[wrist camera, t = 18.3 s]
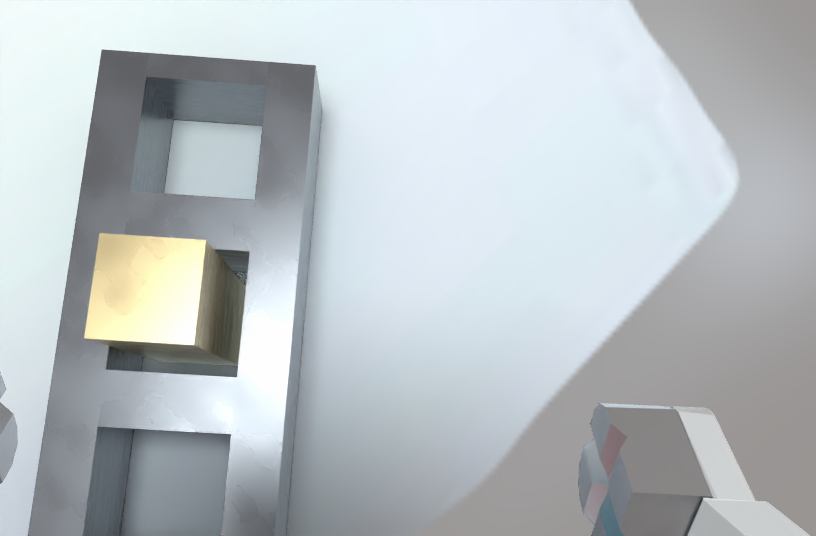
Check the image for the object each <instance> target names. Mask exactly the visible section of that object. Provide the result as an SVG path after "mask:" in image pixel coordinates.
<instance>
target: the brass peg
mask: <svg viewBox="0 0 816 536" xmlns="http://www.w3.org/2000/svg"><path fill="white" fill-rule="evenodd" d="M245 293H246V285H245V284H244V283H243V281H242V280H241V279H240V278H239V277H238V276H237V275H236V273H235V272H234V271H233V270H232V269H231V268H230V267H229V266H228V264H227V263H226V262H225V261H224V260H223V259H222V258H221V256H220V255H219V254H218V253H217V252H216V251H215V250H214V249H213V247H212V246H211V245H210V244H209V243H208V242H207V241H206V240H197V239H182V238H167V237H152V236H137V235H122V234H107V233H99V240H98V247H97V254H96V261H95V267H94V274H93V281H92V288H91V295H90V301H89V308H88V315H87V322H86V329H85V336H84V338H85V339H88V340H91V341H94V342H98V343H101V344H104V345H108V346H111V347H114V348H117V349H121V350H124V351H127V352H131V353H134V354H137V355H140V356H144V357H147V358H150V359H153V360H157V361H165V362H182V363H198V364H215V365H231V366H238V362H239V352H240V342H241V332H242V322H243V313H244V303H245Z"/></svg>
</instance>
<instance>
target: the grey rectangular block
mask: <svg viewBox="0 0 816 536" xmlns="http://www.w3.org/2000/svg"><path fill="white" fill-rule="evenodd" d="M321 116H322V105H321V98H320V91H319V85H318V78H317V71H316V66H315V65H302V64H289V63H275V62H262V61H248V60H235V59H222V58H208V57H195V56H181V55H168V54H155V53H141V52H128V51H114V50H102V52H101V59H100V65H99V72H98V78H97V85H96V92H95V98H94V105H93V111H92V118H91V124H90V131H89V138H88V144H87V151H86V157H85V164H84V170H83V177H82V183H81V190H80V197H79V203H78V210H77V216H76V223H75V229H74V236H73V242H72V249H71V256H70V262H69V269H68V275H67V282H66V288H65V295H64V301H63V308H62V315H61V321H60V328H59V334H58V341H57V347H56V354H55V361H54V367H53V374H52V380H51V387H50V393H49V400H48V406H47V413H46V420H45V426H44V433H43V439H42V446H41V452H40V459H39V465H38V472H37V479H36V485H35V492H34V498H33V505H32V511H31V518H30V525H29V531H28V536H120V531H121V524H122V516H123V508H124V500H125V492H126V485H127V477H128V469H129V461H130V454H131V446H132V438H133V430H134V429H148V430H165V431H183V432H201V433H219V434H231V440H230V450H229V460H228V470H227V480H226V489H225V499H224V509H223V519H222V529H221V536H286V529H287V518H288V506H289V494H290V482H291V470H292V459H293V447H294V435H295V423H296V411H297V400H298V388H299V376H300V364H301V352H302V341H303V329H304V317H305V305H306V293H307V282H308V270H309V258H310V246H311V234H312V223H313V211H314V199H315V187H316V175H317V164H318V152H319V140H320V128H321ZM173 119H176V120H190V121H204V122H218V123H232V124H246V125H260V126H262V136H261V146H260V156H259V165H258V175H257V185H256V195H255V200H249V199H235V198H220V197H205V196H190V195H176V194H164V188H165V181H166V173H167V165H168V157H169V150H170V142H171V134H172V126H173ZM99 233H107V234H122V235H137V236H152V237H167V238H182V239H197V240H206V241H207V242H208V243H209V244H210V245H211V246H212V247H213V249H214V250H215V251H216V252H217V253H218V254H219V255H220V256H221V258H222V259H223V260H224V261H225V262H226V263H227V264H228V266H229V267H230V268H231V269H232V270H233V271H236V272H248V273H247V283H246V293H245V303H244V313H243V322H242V332H241V342H240V352H239V362H238V372H237V377H223V376H206V375H189V374H172V373H154V372H141V368H142V360H143V356H140V355H137V354H134V353H131V352H127V351H124V350H121V349H117V348H114V347H111V346H108V345H104V344H101V343H98V342H94V341H91V340H88V339H85V338H84V336H85V329H86V322H87V315H88V308H89V301H90V295H91V288H92V281H93V274H94V267H95V261H96V254H97V247H98V240H99Z"/></svg>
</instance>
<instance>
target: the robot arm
mask: <svg viewBox="0 0 816 536" xmlns="http://www.w3.org/2000/svg"><path fill="white" fill-rule="evenodd" d="M5 391H6V387H5V384H4V381H3V378H2V376H1V373H0V398H1V397H2V395H3V394H4V392H5ZM590 425H591V428H592V432H593V436H594V439H593V440H592V441H591V442H589V443H588V444H586V445H585V446H584V447H583V451H582V455H581V459H580V463H579V480H578V486H579V496H580V502H581V506H582V510H583V514H584V515H585V516H586V517H587V518H588V519H589V520H590V521H591V522H592V523H593V524H594V529H593V532H592V535H591V536H810V535H809V534H807V533H806V532H805V531H804V530H802V529H801V528H800V527H798V526H797V525H796V524H795V523H793V522H792V521H791V520H790V519H788V518H787V517H786V516H784V515H783V514H782V513H781V512H779V511H778V510H777V509H775V508H774V507H773V506H772V505H770V504H769V503H768V502H763V501H756V500H755V498H754V496H753V494H752V492H751V490H750V488H749V486H748V483H747V481H746V479H745V477H744V476H743V473H742V471H741V469H740V467H739V465H738V463H737V461H736V459H735V457H734V455H733V453H732V451H731V449H730V447H729V445H728V442H727V440H726V439H725V436H724V434H723V432H722V430H721V428H720V426H719V424H718V422H717V420H716V418H715V416H714V414H713V413H712V412H711V411H710V410H709V409H708V408H699V407H676V406H671V407H665V406H645V405H627V404H606V403H599V404H598V406H597V407H596V409H595V410H594V413H593V416H592V419H591V423H590ZM16 447H17V425H16V422H15V418H14V414H13V413H12V412H11V411H9V410H8V409H7V408H6V407H5V406H4V405H3V404H1V403H0V484H1V483H2V482H3V480H4V478H5V476H6V475H7V473H8V471H9V469H10V467H11V466H12V463H13V459H14V455H15V451H16Z"/></svg>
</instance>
